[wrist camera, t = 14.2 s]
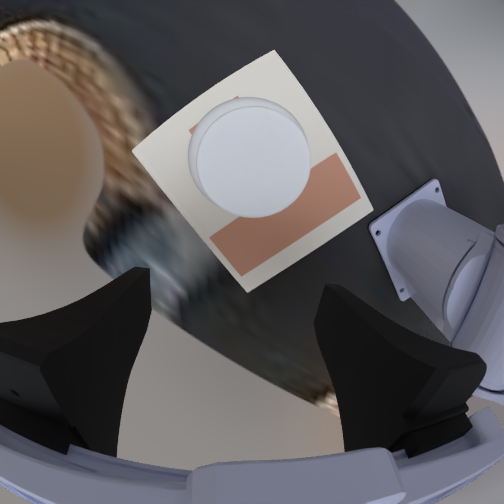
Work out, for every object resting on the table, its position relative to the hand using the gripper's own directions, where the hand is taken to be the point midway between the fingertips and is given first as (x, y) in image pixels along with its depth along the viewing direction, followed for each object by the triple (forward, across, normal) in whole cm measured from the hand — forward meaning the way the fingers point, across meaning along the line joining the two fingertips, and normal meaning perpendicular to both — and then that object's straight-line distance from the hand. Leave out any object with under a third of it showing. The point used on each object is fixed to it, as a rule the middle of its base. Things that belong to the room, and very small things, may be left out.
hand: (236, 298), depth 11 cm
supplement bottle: (+10, 0, -5) cm, 11 cm away
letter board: (+10, -1, -3) cm, 11 cm away
